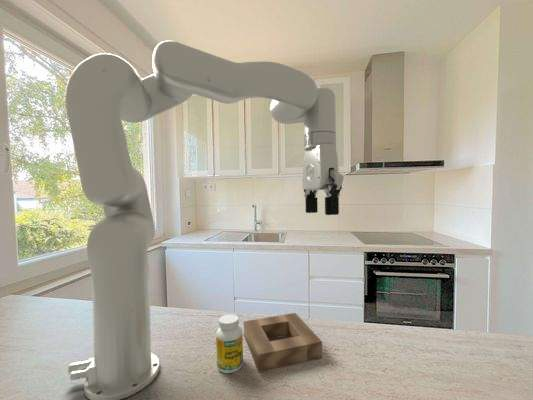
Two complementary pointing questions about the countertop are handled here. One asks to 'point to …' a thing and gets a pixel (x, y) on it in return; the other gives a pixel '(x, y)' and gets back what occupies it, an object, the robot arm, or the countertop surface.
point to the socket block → (281, 341)
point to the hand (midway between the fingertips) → (321, 213)
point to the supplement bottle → (229, 344)
